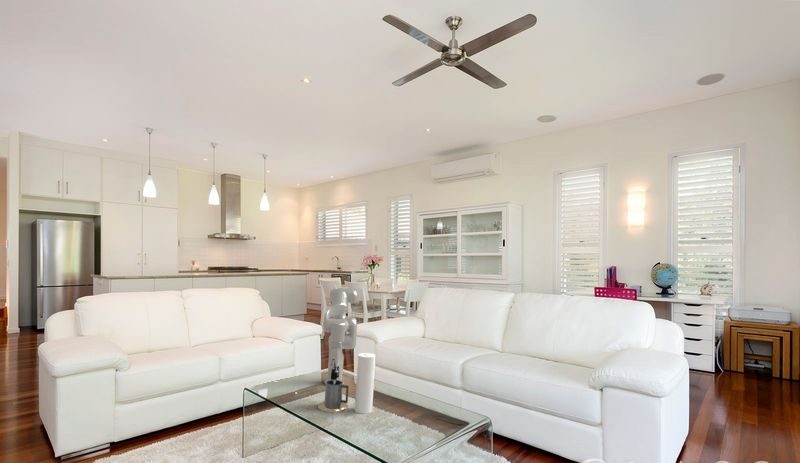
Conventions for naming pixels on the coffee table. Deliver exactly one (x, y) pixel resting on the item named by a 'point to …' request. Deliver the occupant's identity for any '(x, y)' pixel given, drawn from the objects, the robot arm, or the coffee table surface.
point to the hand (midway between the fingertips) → (334, 378)
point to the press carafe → (334, 397)
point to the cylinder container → (365, 383)
